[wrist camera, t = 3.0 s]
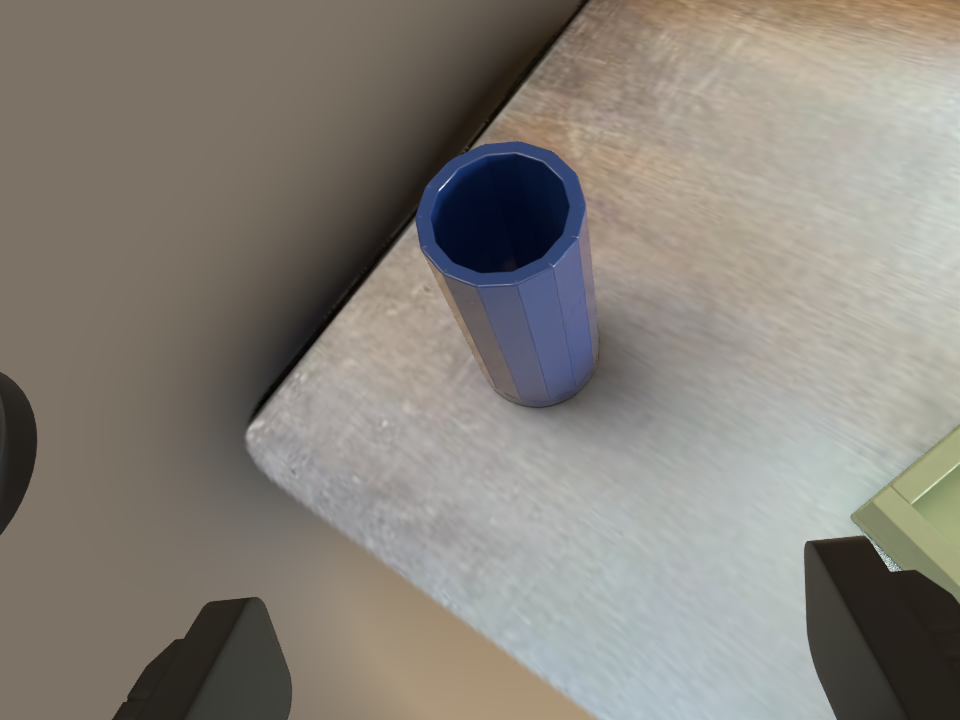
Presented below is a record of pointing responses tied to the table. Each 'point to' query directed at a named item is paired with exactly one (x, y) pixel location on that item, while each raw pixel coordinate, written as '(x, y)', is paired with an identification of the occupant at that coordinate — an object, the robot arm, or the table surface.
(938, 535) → the serving tray
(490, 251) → the beaker
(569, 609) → the table surface
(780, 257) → the table surface
